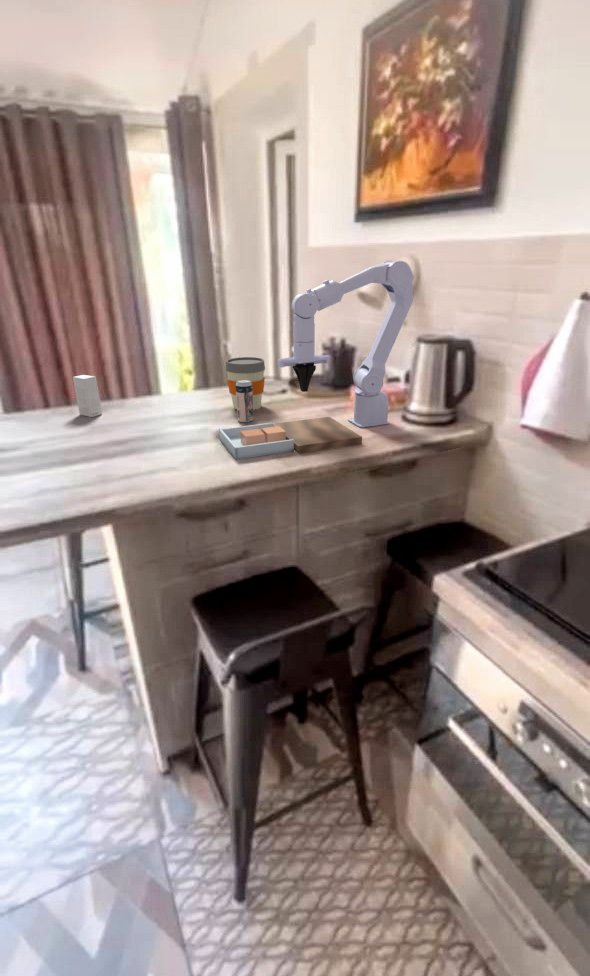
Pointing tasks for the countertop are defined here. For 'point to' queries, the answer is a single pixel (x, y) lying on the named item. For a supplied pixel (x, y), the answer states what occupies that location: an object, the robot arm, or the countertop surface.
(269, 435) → the tile
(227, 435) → the tray
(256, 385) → the reusable coffee cup
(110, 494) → the countertop surface
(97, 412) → the skincare box
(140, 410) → the countertop surface
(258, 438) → the tile
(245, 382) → the beer can
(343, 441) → the board
